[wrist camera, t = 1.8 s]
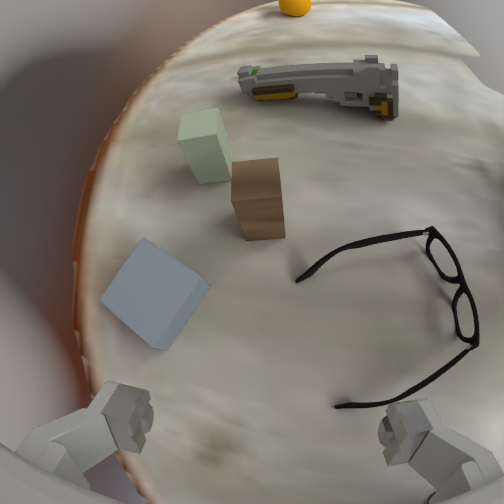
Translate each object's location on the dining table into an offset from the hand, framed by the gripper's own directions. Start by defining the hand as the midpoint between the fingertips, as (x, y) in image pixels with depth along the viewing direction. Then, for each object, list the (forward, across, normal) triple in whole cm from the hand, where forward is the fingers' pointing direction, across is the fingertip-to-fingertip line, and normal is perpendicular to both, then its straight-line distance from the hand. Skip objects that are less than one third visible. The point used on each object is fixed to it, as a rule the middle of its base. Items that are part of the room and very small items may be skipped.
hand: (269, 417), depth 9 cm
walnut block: (+28, +1, -1) cm, 28 cm away
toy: (+41, -7, -19) cm, 46 cm away
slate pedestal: (+24, +12, +8) cm, 28 cm away
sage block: (+34, +8, -7) cm, 36 cm away
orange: (+64, -4, -50) cm, 81 cm away
